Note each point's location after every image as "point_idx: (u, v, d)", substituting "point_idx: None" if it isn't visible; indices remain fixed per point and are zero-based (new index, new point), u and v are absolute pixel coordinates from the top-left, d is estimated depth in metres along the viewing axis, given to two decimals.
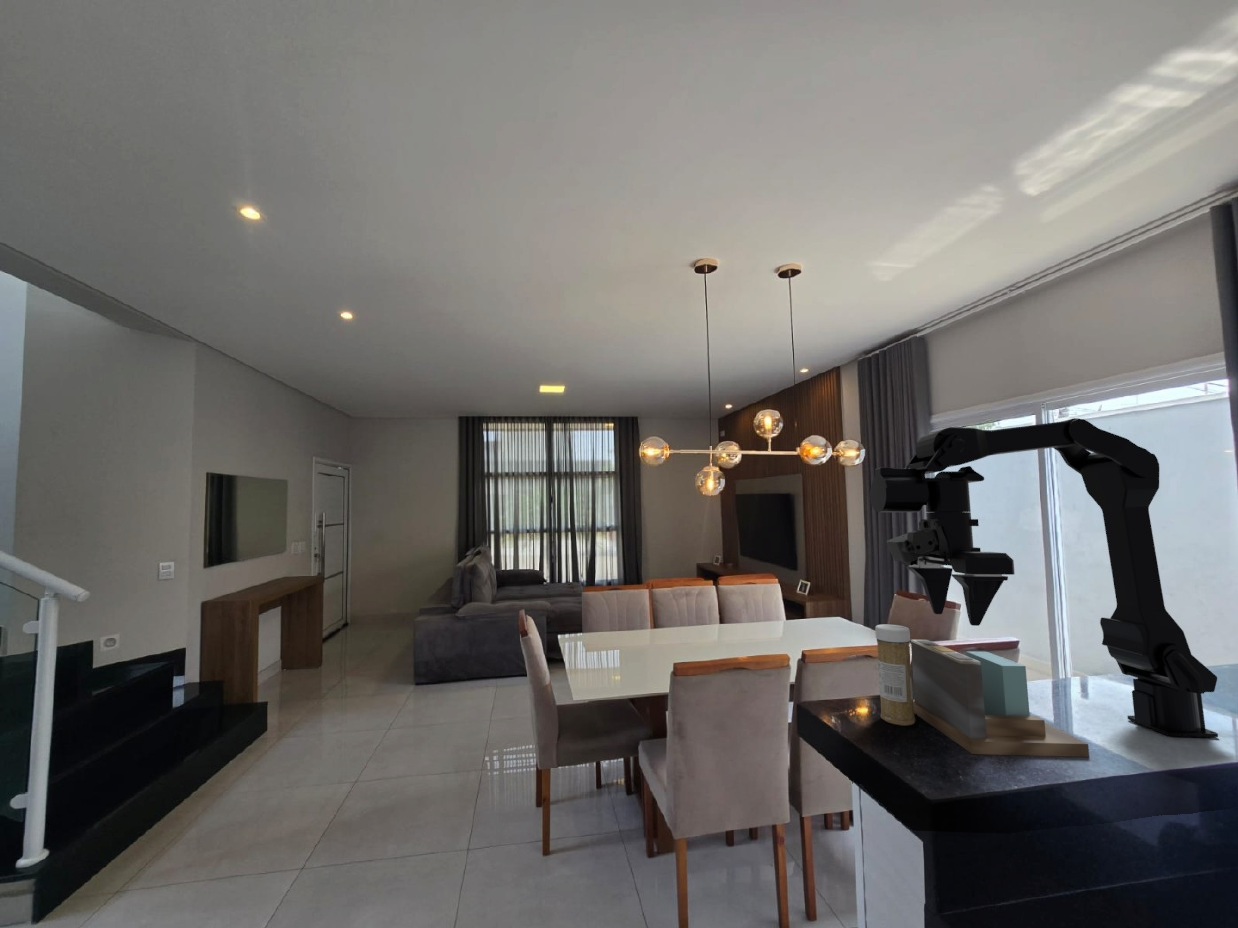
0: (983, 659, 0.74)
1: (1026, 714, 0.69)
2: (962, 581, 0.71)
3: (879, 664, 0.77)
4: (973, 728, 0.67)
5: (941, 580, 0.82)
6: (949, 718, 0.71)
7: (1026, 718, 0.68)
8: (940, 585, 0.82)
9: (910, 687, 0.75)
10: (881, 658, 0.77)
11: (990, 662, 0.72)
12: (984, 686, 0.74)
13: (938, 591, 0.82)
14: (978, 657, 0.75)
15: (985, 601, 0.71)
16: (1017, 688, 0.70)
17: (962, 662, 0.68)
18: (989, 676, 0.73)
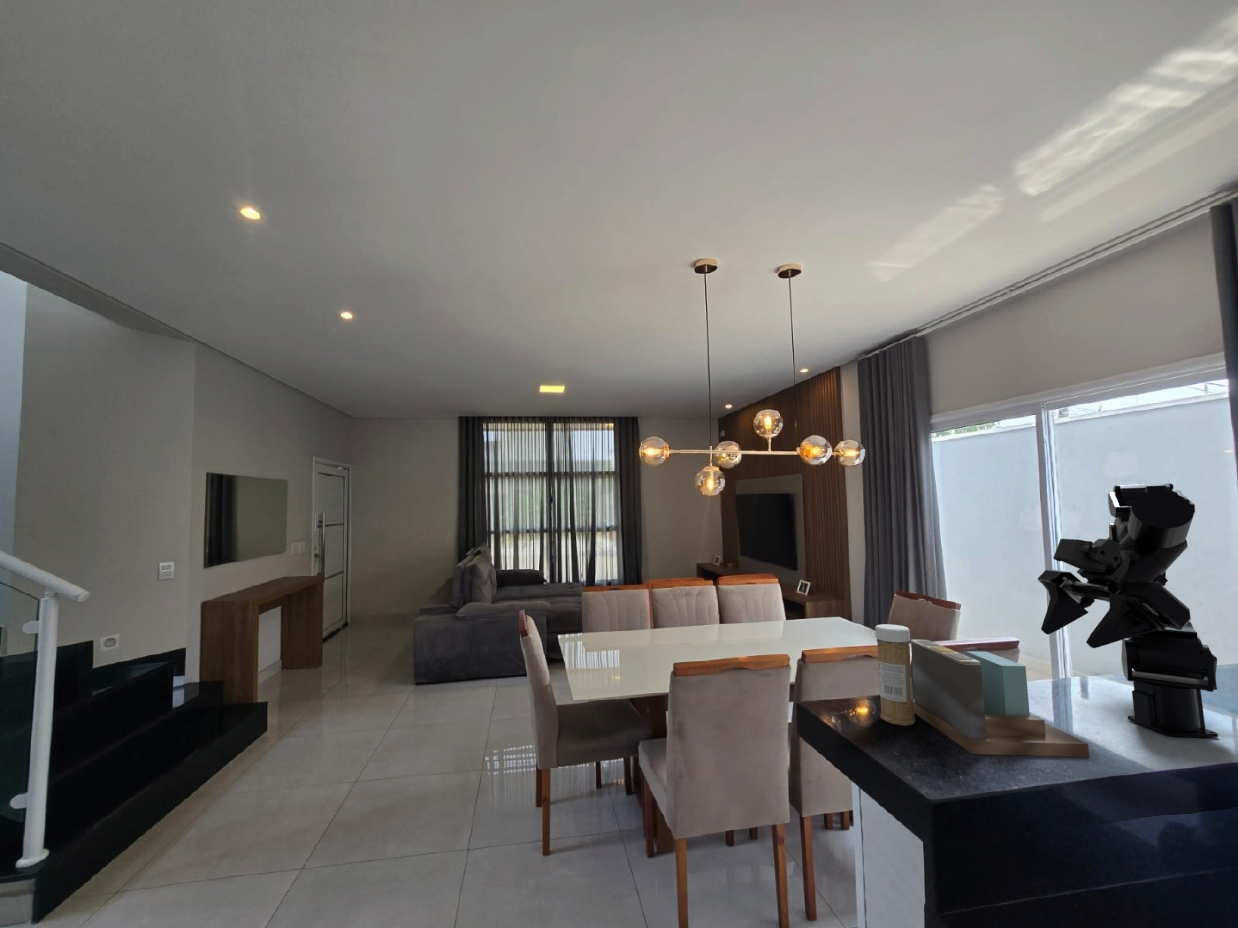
0: (983, 659, 0.74)
1: (1026, 714, 0.69)
2: (1118, 602, 0.68)
3: (879, 664, 0.77)
4: (973, 728, 0.67)
5: (1071, 612, 0.78)
6: (949, 718, 0.71)
7: (1026, 718, 0.68)
8: (1066, 614, 0.78)
9: (910, 687, 0.75)
10: (881, 657, 0.77)
11: (990, 662, 0.72)
12: (984, 686, 0.74)
13: (1061, 617, 0.78)
14: (978, 657, 0.75)
15: (1120, 634, 0.69)
16: (1017, 688, 0.70)
17: (962, 662, 0.68)
18: (989, 676, 0.73)
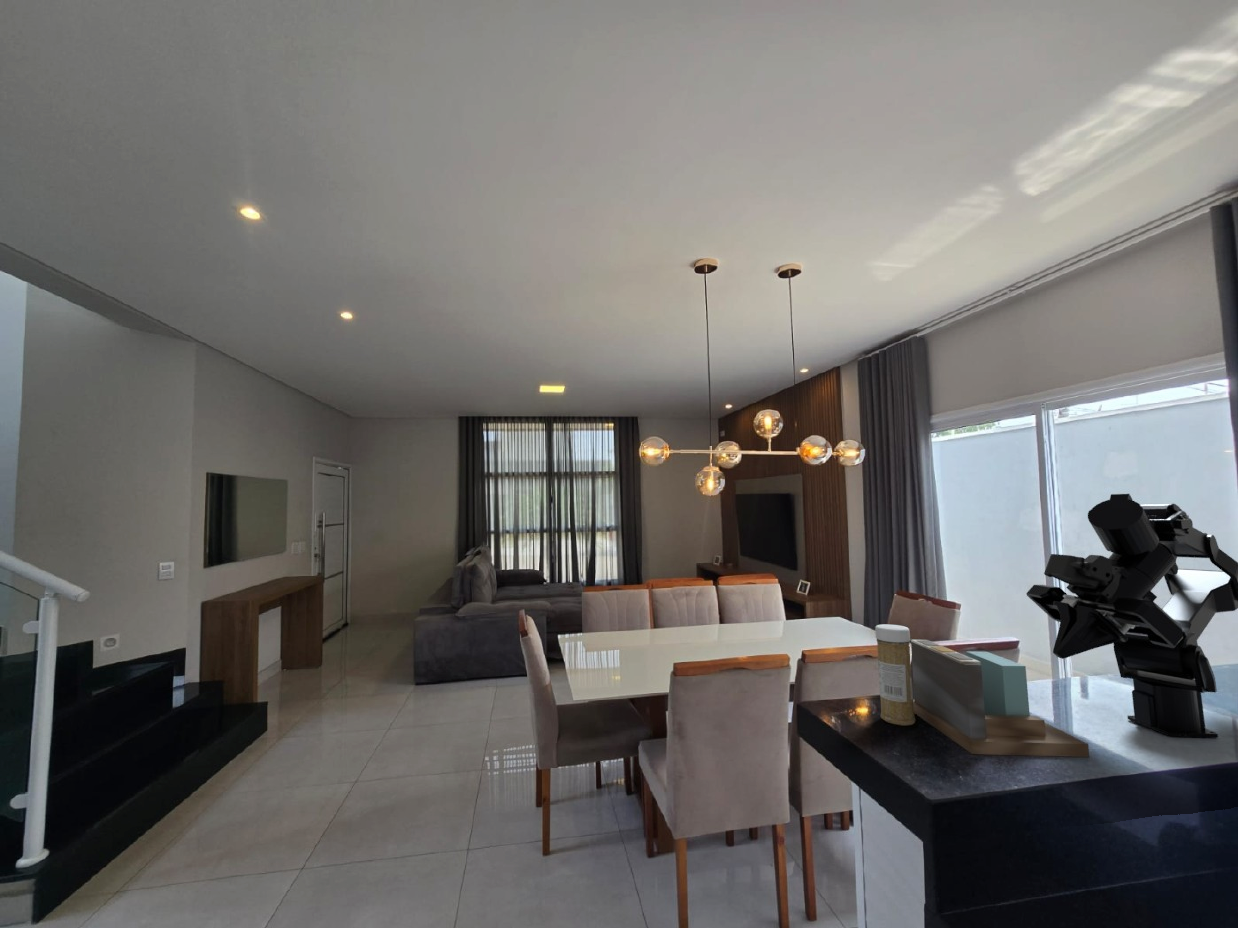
0: (983, 659, 0.74)
1: (1026, 714, 0.69)
2: (1085, 614, 0.71)
3: (879, 664, 0.77)
4: (973, 728, 0.67)
5: None
6: (949, 718, 0.71)
7: (1026, 718, 0.68)
8: None
9: (910, 687, 0.75)
10: (881, 658, 0.77)
11: (990, 662, 0.72)
12: (984, 686, 0.74)
13: None
14: (978, 657, 0.75)
15: (1087, 645, 0.72)
16: (1017, 688, 0.70)
17: (962, 662, 0.68)
18: (989, 676, 0.73)
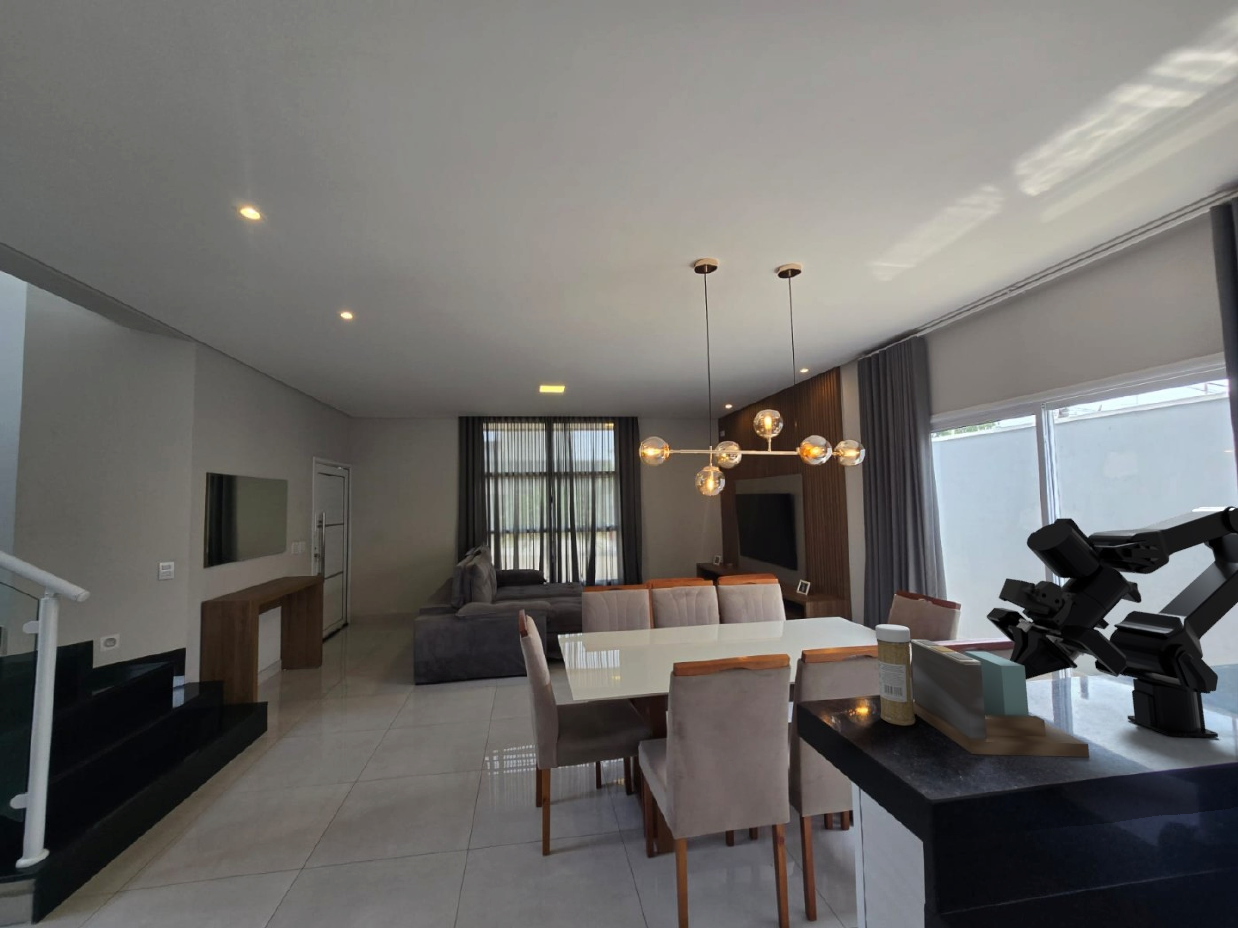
0: (982, 659, 0.74)
1: (1025, 714, 0.69)
2: (1035, 640, 0.72)
3: (879, 664, 0.77)
4: (973, 728, 0.67)
5: None
6: (949, 718, 0.71)
7: (1026, 718, 0.68)
8: None
9: (910, 687, 0.75)
10: (881, 658, 0.77)
11: (989, 662, 0.72)
12: (983, 686, 0.74)
13: None
14: (977, 657, 0.75)
15: (1037, 670, 0.72)
16: (1016, 688, 0.70)
17: (962, 662, 0.68)
18: (988, 676, 0.73)
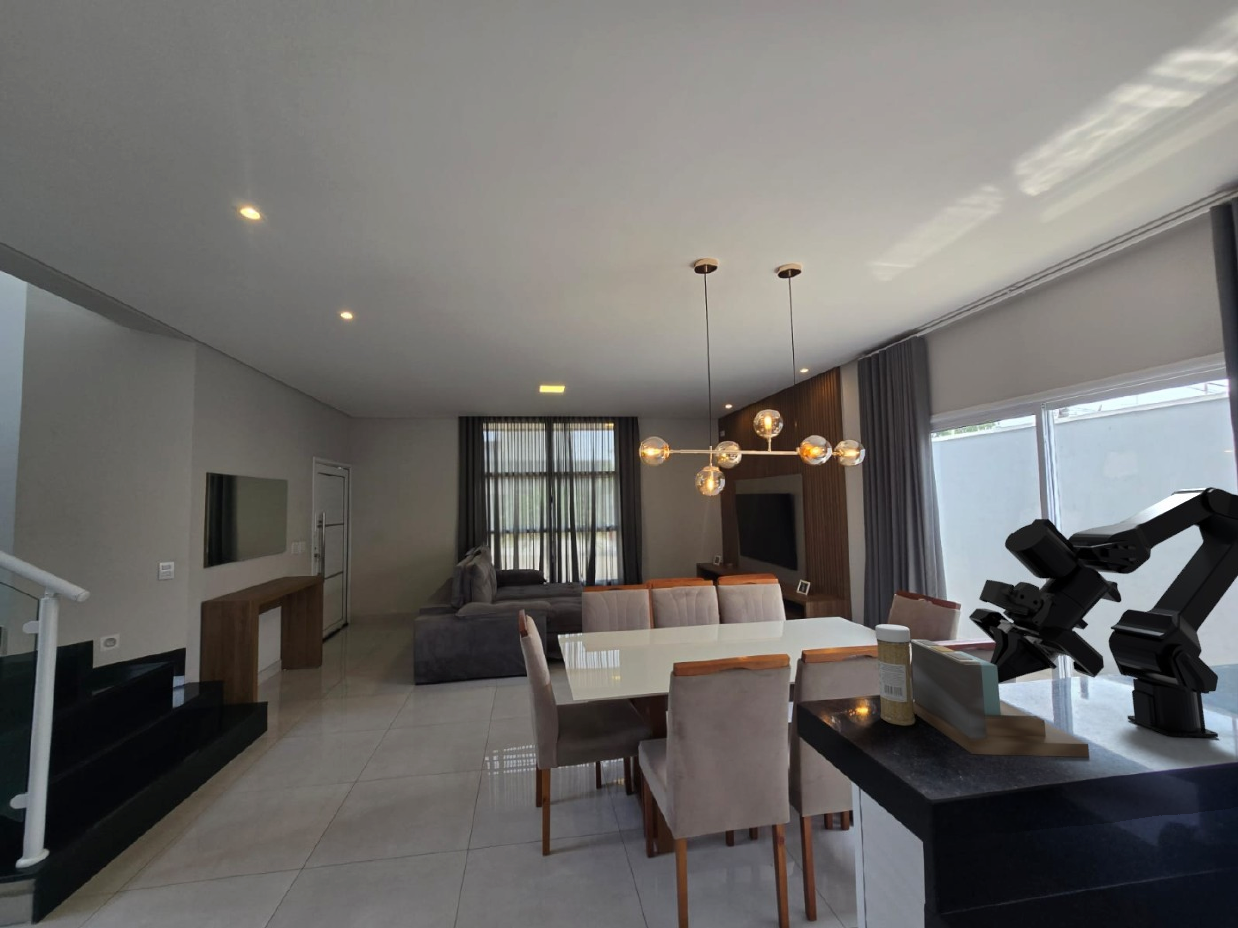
0: None
1: (997, 713, 0.69)
2: (1015, 641, 0.72)
3: (879, 664, 0.77)
4: (973, 728, 0.67)
5: None
6: (949, 718, 0.71)
7: (1026, 718, 0.68)
8: None
9: (910, 687, 0.75)
10: (881, 657, 0.77)
11: None
12: None
13: None
14: None
15: (1017, 671, 0.72)
16: (988, 688, 0.70)
17: (962, 662, 0.68)
18: None
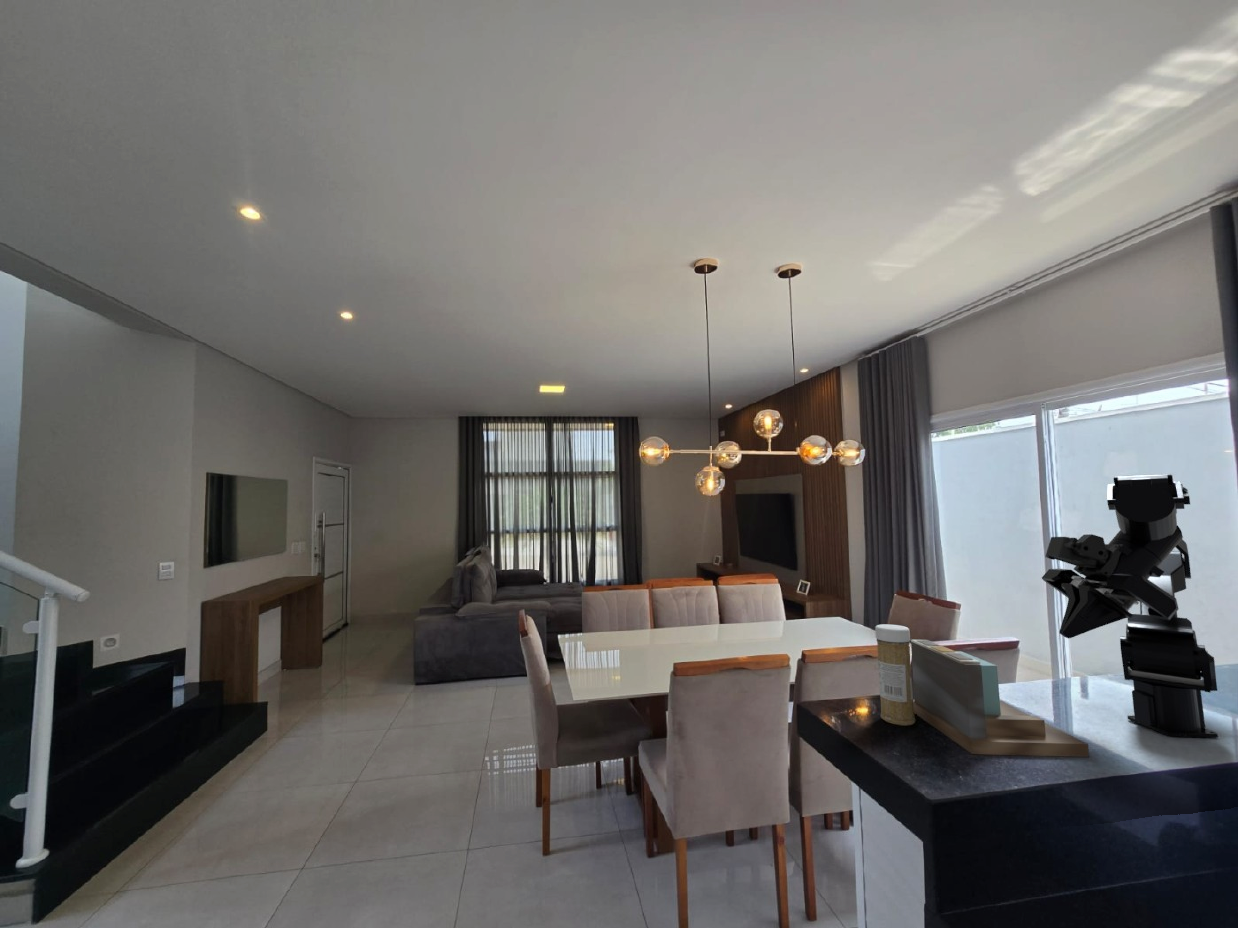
0: None
1: (997, 713, 0.69)
2: (1085, 593, 0.73)
3: (879, 664, 0.77)
4: (973, 728, 0.67)
5: None
6: (949, 718, 0.71)
7: (1026, 718, 0.68)
8: None
9: (910, 687, 0.75)
10: (881, 658, 0.77)
11: None
12: None
13: None
14: None
15: (1092, 623, 0.73)
16: (988, 688, 0.70)
17: (962, 662, 0.68)
18: None
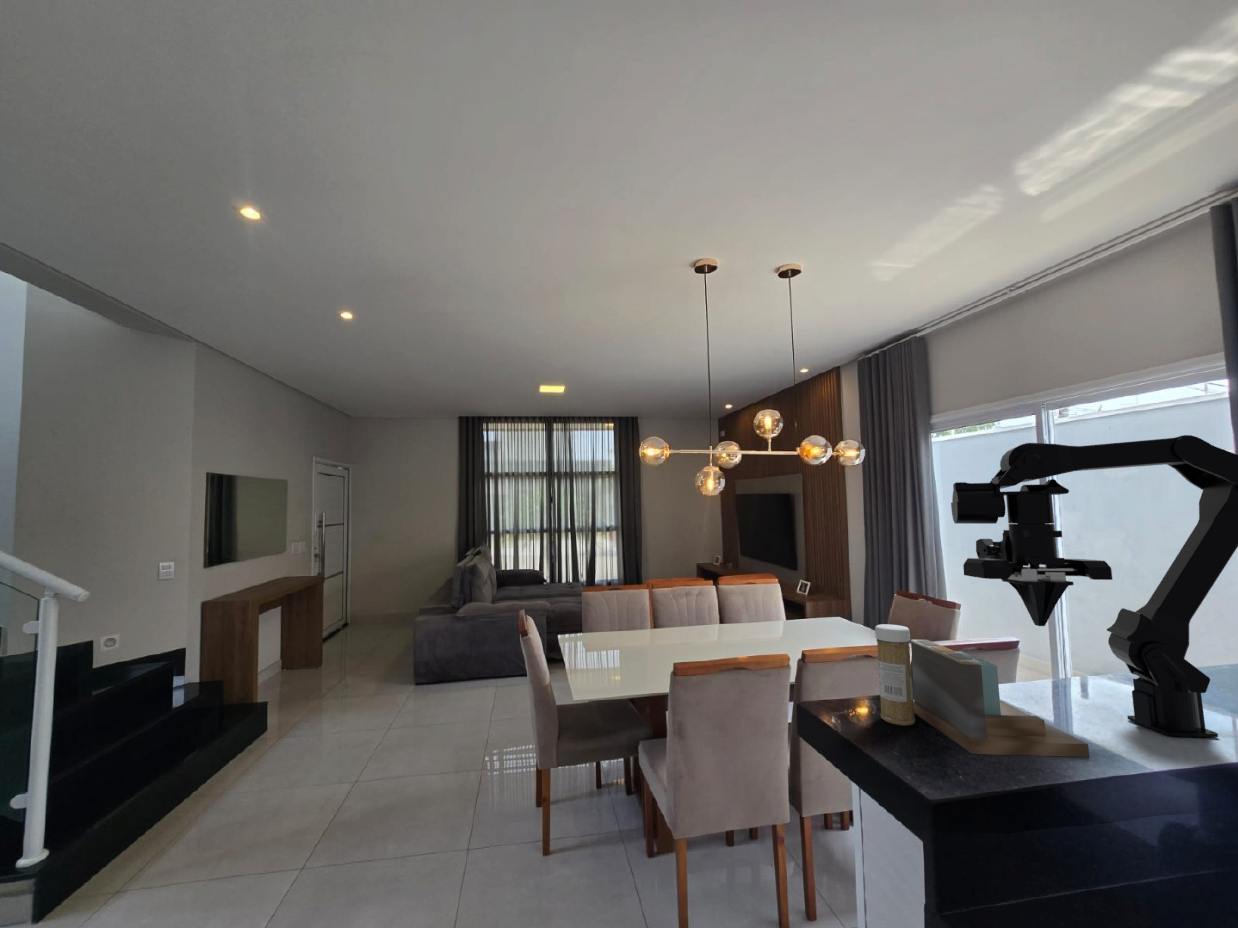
0: None
1: (997, 713, 0.69)
2: None
3: (879, 664, 0.77)
4: (973, 728, 0.67)
5: (1045, 592, 0.80)
6: (949, 718, 0.71)
7: (1026, 718, 0.68)
8: None
9: (910, 687, 0.75)
10: (881, 657, 0.77)
11: None
12: None
13: None
14: None
15: (1033, 604, 0.80)
16: (988, 688, 0.70)
17: (962, 662, 0.68)
18: None
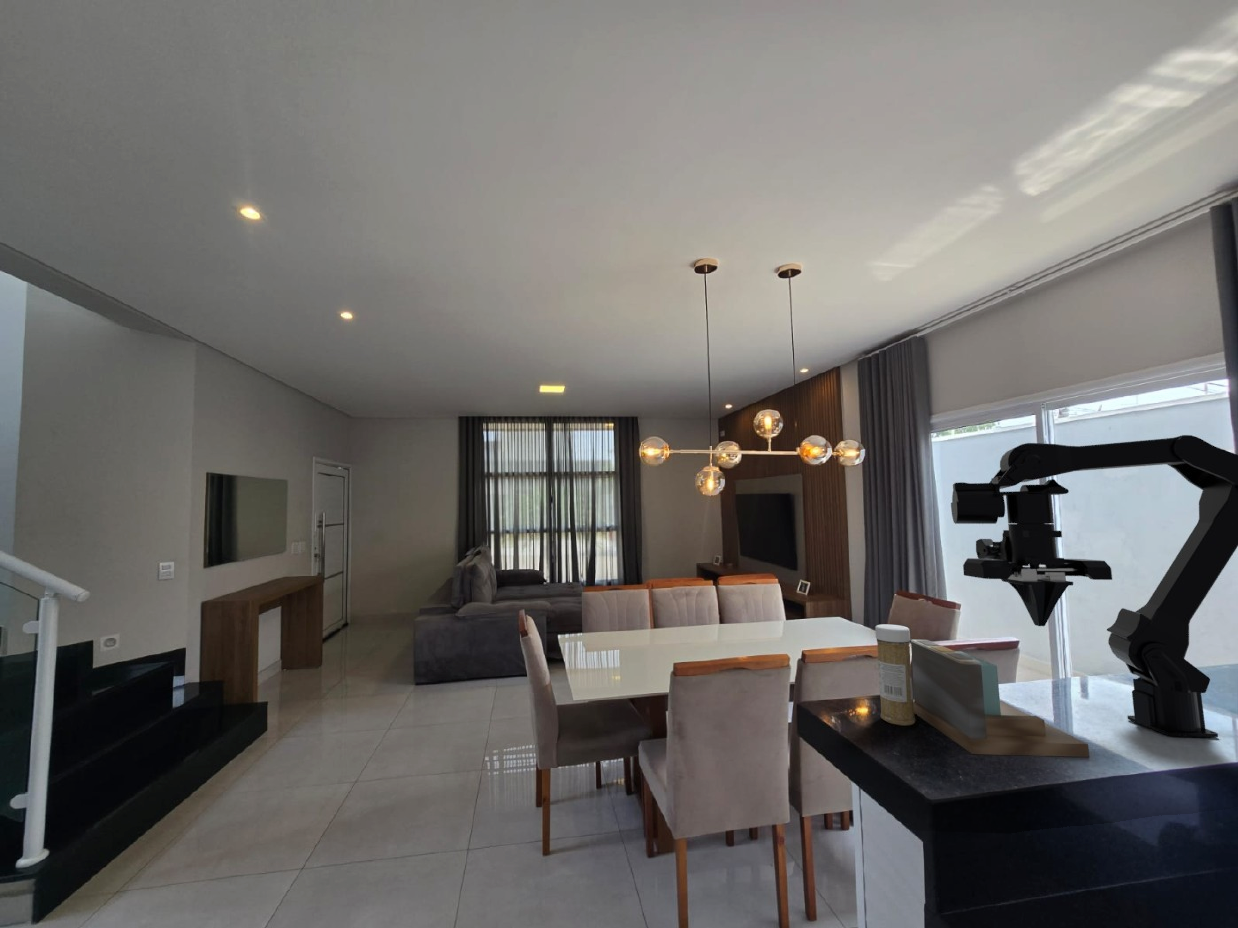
0: None
1: (997, 713, 0.69)
2: None
3: (879, 664, 0.77)
4: (973, 728, 0.67)
5: (1045, 592, 0.80)
6: (949, 718, 0.71)
7: (1026, 718, 0.68)
8: None
9: (910, 687, 0.75)
10: (881, 657, 0.77)
11: None
12: None
13: None
14: None
15: (1032, 604, 0.80)
16: (988, 688, 0.70)
17: (962, 662, 0.68)
18: None
